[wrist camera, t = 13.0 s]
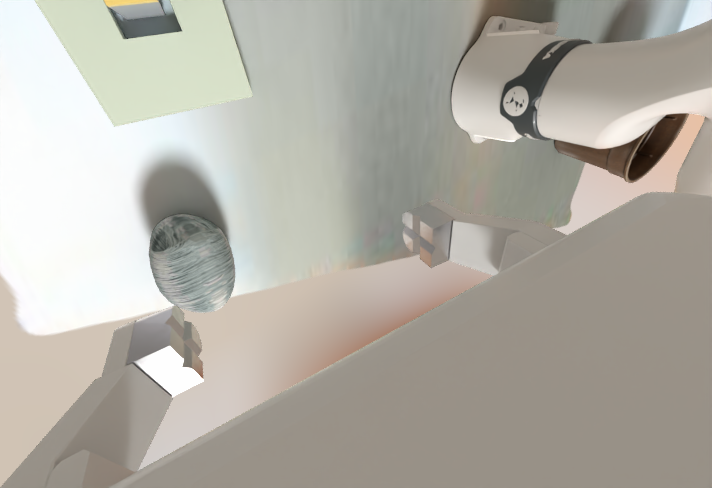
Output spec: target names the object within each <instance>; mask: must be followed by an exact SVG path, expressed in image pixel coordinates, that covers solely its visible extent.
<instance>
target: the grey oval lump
mask: <svg viewBox="0 0 712 488" xmlns="http://www.w3.org/2000/svg"><path fill="white" fill-rule="evenodd" d="M149 257H150V265H151V269H152V273H153V276H154V279H155V282H156V285H157V287H158V288H159V290H160V292H161V293H162V294H163V295H164V296H165V297H166V298H167V299H168V300H169V301H170V302H171V303H172V304H174V305H176V306H178V307H180V308H182V309H185V310H188V311H192V312H212V311H216V310H218V309H220V308H221V307H223V306H224V305H225V303H226V302H227V301H228V299H229V298H230V296H231V293H232V291H233V288H234V282H235V265H234V258H233V254H232V251H231V248H230V245H229V243H228V241H227V238H226V236H225V235H224V233H223V232H222V231H221V230H220V228H219V227H217V226H216V225H215V224H213V223H212V222H210V221H208V220H206V219H204V218H201V217H197V216H193V215H188V214H177V215H173V216H169V217H167V218H165V219H163V220H162V221H160V222H159V223H158V224H157V225H156V227H155V228H154V229H153V232H152V235H151V240H150V247H149Z"/></svg>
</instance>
